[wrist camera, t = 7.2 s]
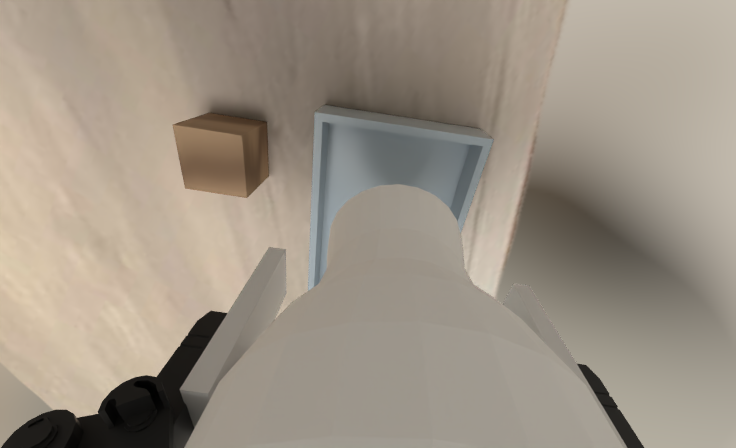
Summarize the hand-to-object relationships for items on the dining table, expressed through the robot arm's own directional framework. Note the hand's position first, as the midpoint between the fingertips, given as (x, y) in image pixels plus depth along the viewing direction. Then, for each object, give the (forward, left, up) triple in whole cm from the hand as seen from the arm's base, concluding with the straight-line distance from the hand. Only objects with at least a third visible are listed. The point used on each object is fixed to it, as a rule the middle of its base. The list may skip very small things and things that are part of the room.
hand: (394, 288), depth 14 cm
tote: (+5, 0, -15) cm, 16 cm away
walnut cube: (-1, -14, -15) cm, 21 cm away
